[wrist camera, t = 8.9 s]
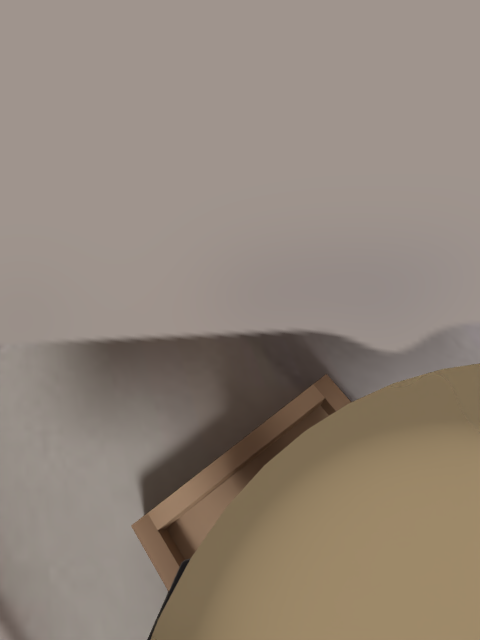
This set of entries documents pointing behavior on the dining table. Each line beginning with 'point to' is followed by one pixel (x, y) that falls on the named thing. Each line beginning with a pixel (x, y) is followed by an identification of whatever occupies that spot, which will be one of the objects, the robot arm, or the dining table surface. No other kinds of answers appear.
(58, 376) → the dining table surface
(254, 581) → the tea tin
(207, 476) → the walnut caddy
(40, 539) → the dining table surface
